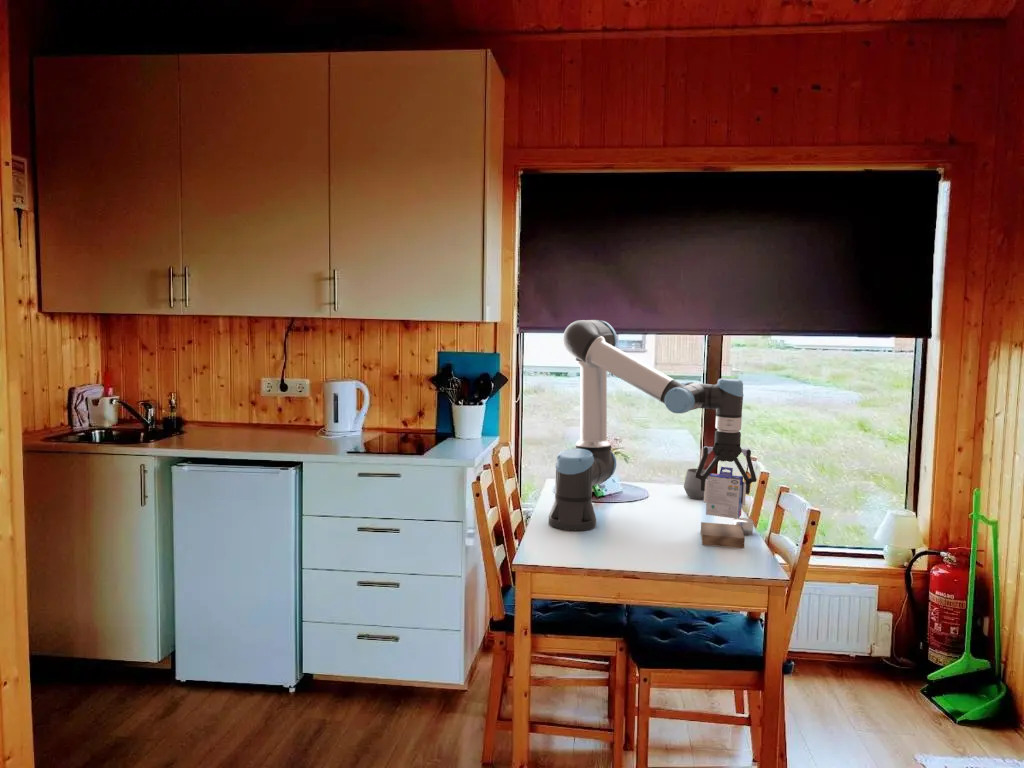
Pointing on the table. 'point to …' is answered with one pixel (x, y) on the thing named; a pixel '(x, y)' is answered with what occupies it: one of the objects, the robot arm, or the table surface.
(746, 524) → the silver metal knob
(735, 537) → the podium
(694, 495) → the cup
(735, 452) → the robot arm
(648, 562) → the table surface
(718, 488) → the ink cartridge box
